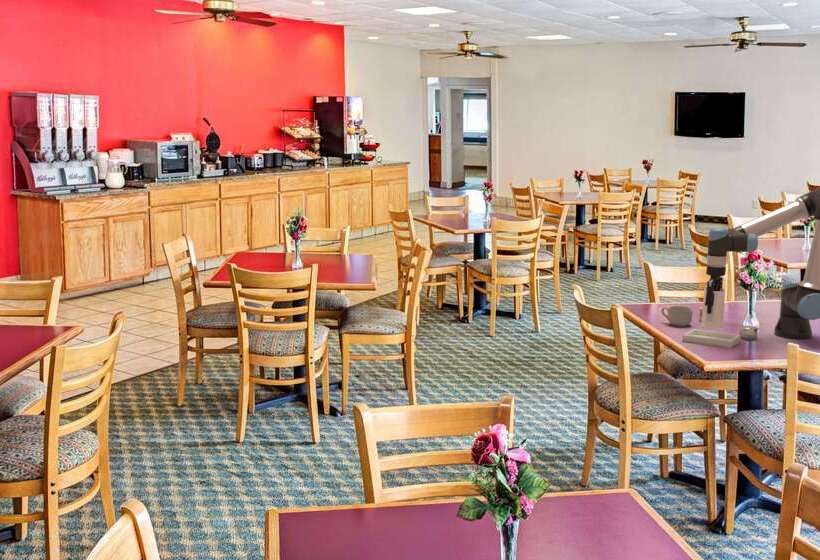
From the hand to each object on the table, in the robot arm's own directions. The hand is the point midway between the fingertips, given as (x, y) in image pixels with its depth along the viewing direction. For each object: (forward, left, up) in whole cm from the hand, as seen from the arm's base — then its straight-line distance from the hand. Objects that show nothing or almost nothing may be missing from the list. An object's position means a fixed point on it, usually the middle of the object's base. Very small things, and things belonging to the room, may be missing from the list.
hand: (712, 319), depth 389 cm
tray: (0, 0, -10) cm, 10 cm away
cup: (0, 0, -3) cm, 3 cm away
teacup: (+23, -23, -10) cm, 34 cm away
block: (+15, -39, -10) cm, 43 cm away
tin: (-11, -15, -10) cm, 21 cm away
